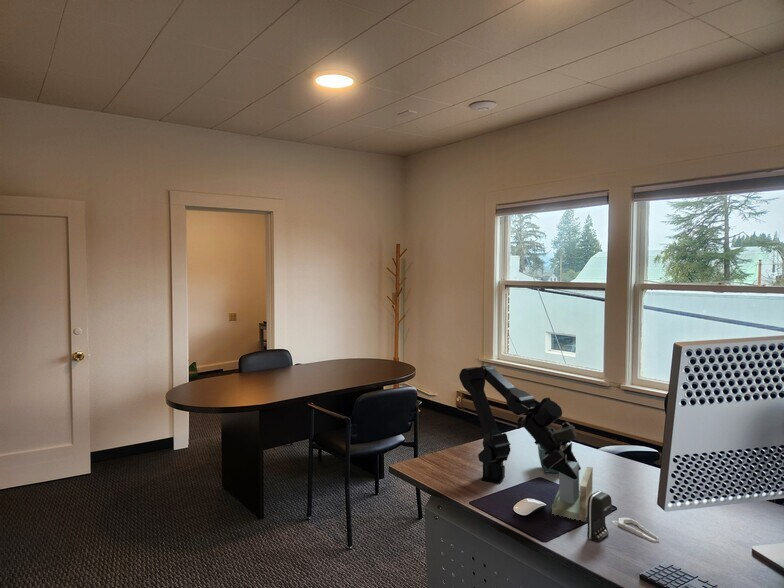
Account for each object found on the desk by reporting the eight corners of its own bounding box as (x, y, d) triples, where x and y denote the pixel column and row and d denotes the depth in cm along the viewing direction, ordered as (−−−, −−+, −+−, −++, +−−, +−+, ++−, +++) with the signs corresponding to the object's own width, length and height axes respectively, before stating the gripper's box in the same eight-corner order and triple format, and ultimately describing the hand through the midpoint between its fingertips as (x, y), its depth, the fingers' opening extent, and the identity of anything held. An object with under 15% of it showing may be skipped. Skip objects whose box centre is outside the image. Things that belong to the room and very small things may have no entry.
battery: (600, 544, 128) (601, 501, 128) (586, 539, 131) (587, 496, 131) (613, 535, 133) (613, 493, 133) (599, 530, 136) (599, 488, 136)
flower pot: (565, 476, 173) (566, 450, 172) (539, 474, 174) (539, 448, 174) (562, 466, 181) (562, 442, 181) (537, 464, 183) (537, 440, 183)
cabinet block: (556, 500, 150) (555, 465, 149) (562, 493, 154) (562, 459, 154) (573, 504, 147) (572, 468, 146) (579, 497, 151) (578, 462, 151)
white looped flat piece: (666, 541, 132) (666, 535, 132) (655, 547, 129) (656, 541, 129) (621, 519, 143) (621, 513, 143) (610, 523, 140) (610, 517, 140)
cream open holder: (551, 514, 145) (552, 480, 144) (561, 493, 159) (561, 462, 159) (585, 521, 140) (586, 486, 140) (592, 499, 155) (592, 467, 154)
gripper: (554, 424, 142) (595, 469, 138) (565, 408, 159) (602, 448, 154) (526, 447, 146) (565, 491, 142) (539, 429, 163) (574, 469, 158)
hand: (578, 474), depth 149 cm, fingers open, 7 cm apart
